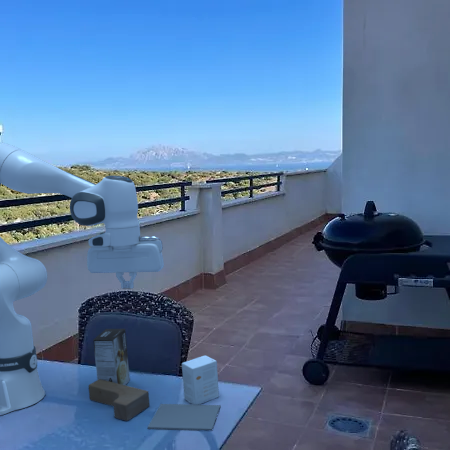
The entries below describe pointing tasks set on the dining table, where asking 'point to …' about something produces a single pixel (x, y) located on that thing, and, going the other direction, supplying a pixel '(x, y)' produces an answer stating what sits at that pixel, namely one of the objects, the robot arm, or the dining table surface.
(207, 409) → the mat
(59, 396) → the dining table surface
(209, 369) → the small box
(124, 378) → the coffee box
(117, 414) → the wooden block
